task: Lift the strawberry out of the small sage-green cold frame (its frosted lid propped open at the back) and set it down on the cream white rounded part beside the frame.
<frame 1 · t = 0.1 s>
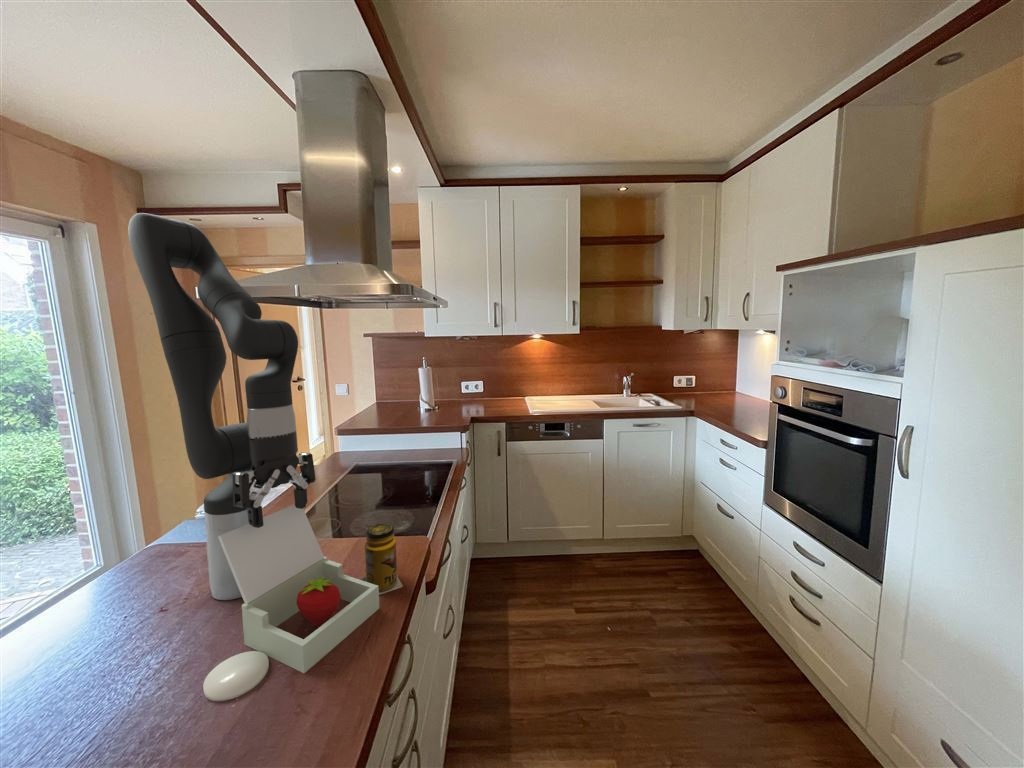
hand: (280, 516, 73), 17 cm above the worktop, tool pointing down, fingers open, 8 cm apart
cold frame: (316, 625, 70), on the worktop
condiment: (377, 585, 82), on the worktop
strawberry: (320, 628, 70), resting in cold frame
cream white rounded part: (237, 677, 59), on the worktop
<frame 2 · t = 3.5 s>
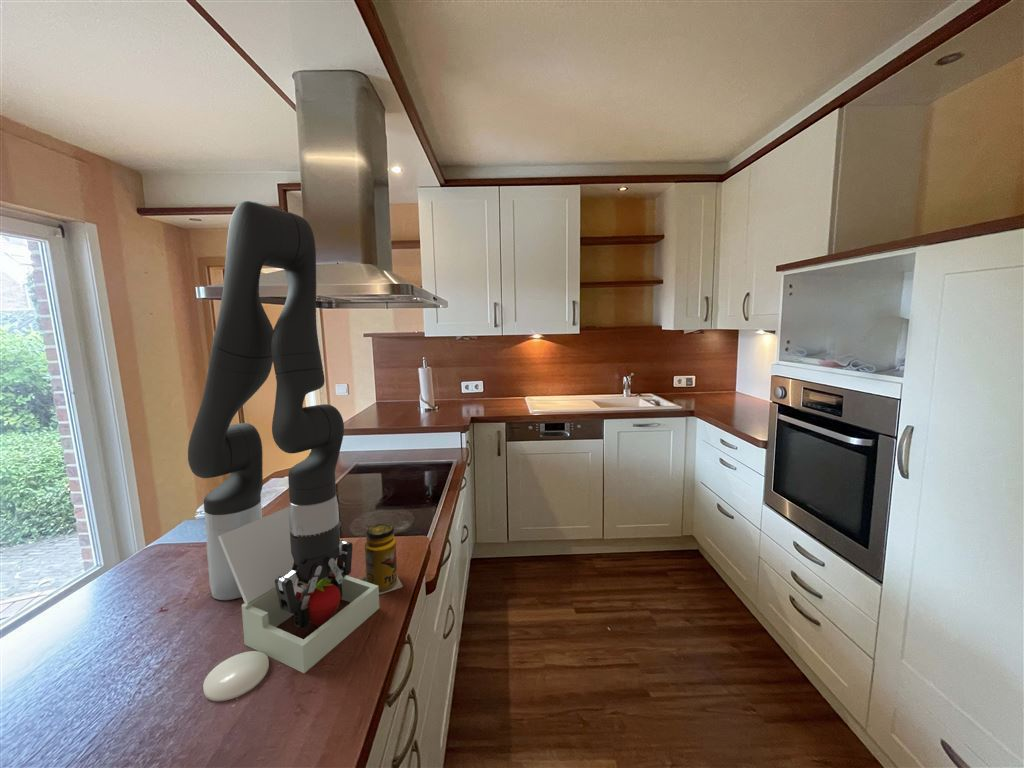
hand: (319, 614, 69), 2 cm above the worktop, tool pointing down, fingers closed on strawberry, 6 cm apart
strawberry: (320, 628, 70), resting in cold frame, touching gripper
everything else where it was.
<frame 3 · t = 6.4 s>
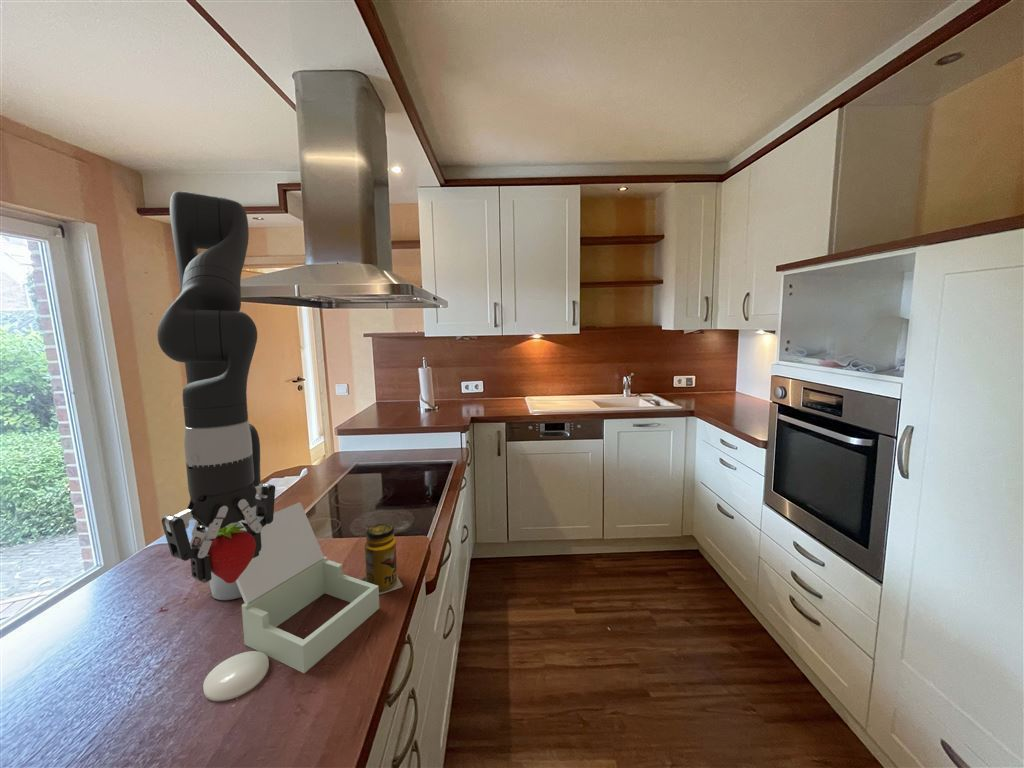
hand: (229, 567, 57), 17 cm above the worktop, tool pointing down, fingers closed on strawberry, 6 cm apart
strawberry: (230, 584, 58), point 15 cm above the worktop, touching gripper
everything else where it was.
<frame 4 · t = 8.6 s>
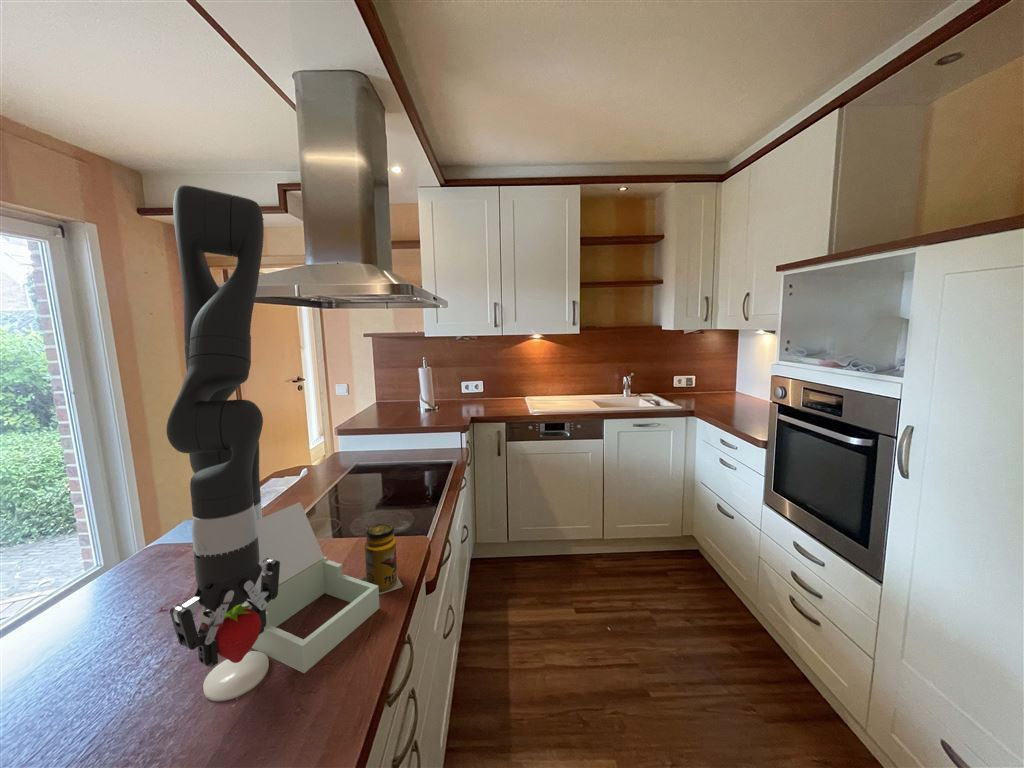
hand: (235, 647, 58), 5 cm above the worktop, tool pointing down, fingers closed on strawberry, 6 cm apart
strawberry: (236, 663, 59), point 2 cm above the worktop, touching gripper
everything else where it was.
when the fingers open (5 cm above the worktop, at t = 9.3 s): strawberry drops 1 cm, resting on cream white rounded part.
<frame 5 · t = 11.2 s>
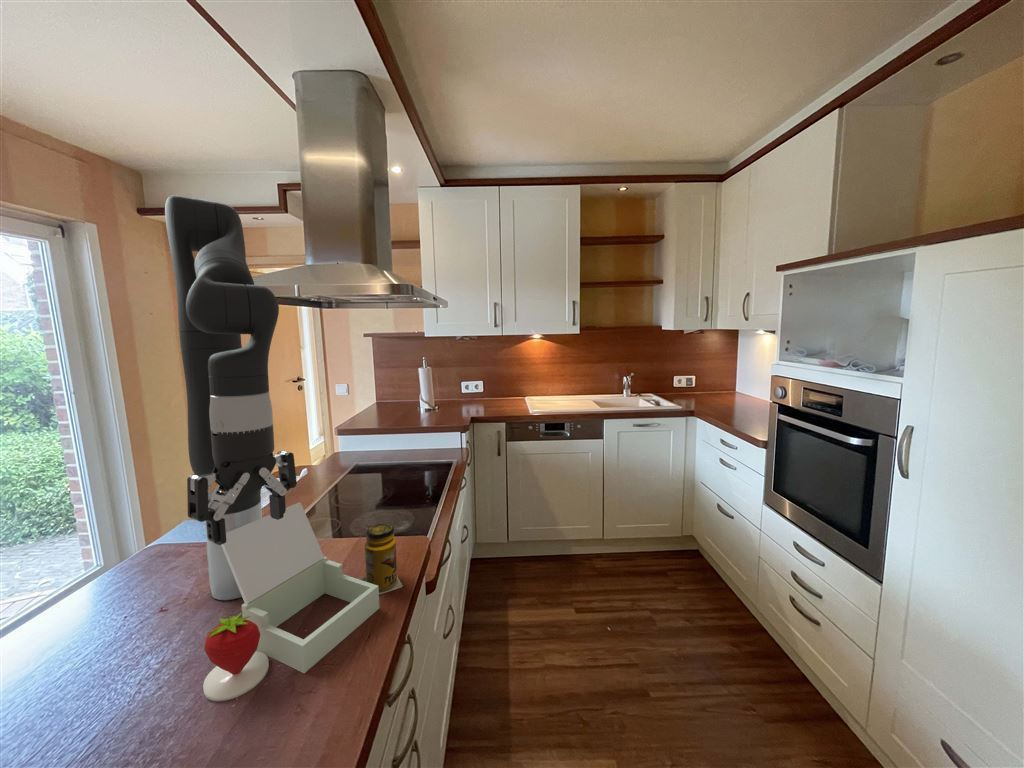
hand: (249, 529, 59), 22 cm above the worktop, tool pointing down, fingers open, 8 cm apart
strawberry: (236, 675, 59), point 1 cm above the worktop, touching cream white rounded part
everything else where it was.
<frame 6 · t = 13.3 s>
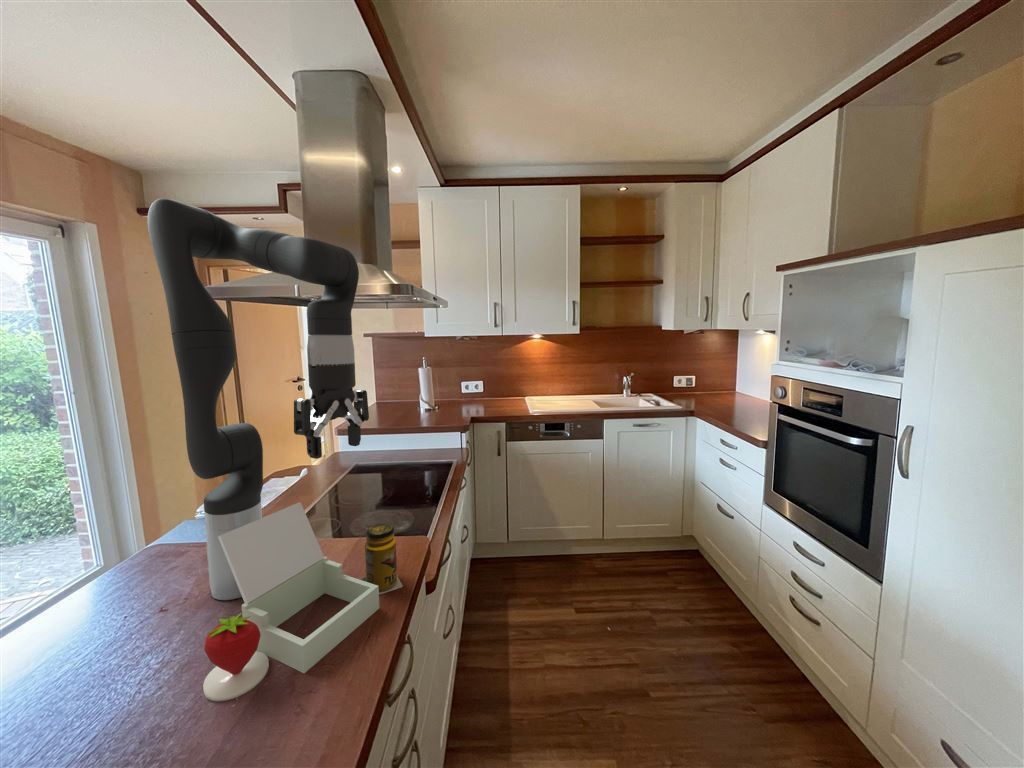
hand: (335, 451, 71), 30 cm above the worktop, tool pointing down, fingers open, 8 cm apart
nothing on the worktop moved.
at the end: strawberry 0.4 cm from the cream white rounded part (horizontally); strawberry point 0.6 cm above the worktop; the gripper is holding nothing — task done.
